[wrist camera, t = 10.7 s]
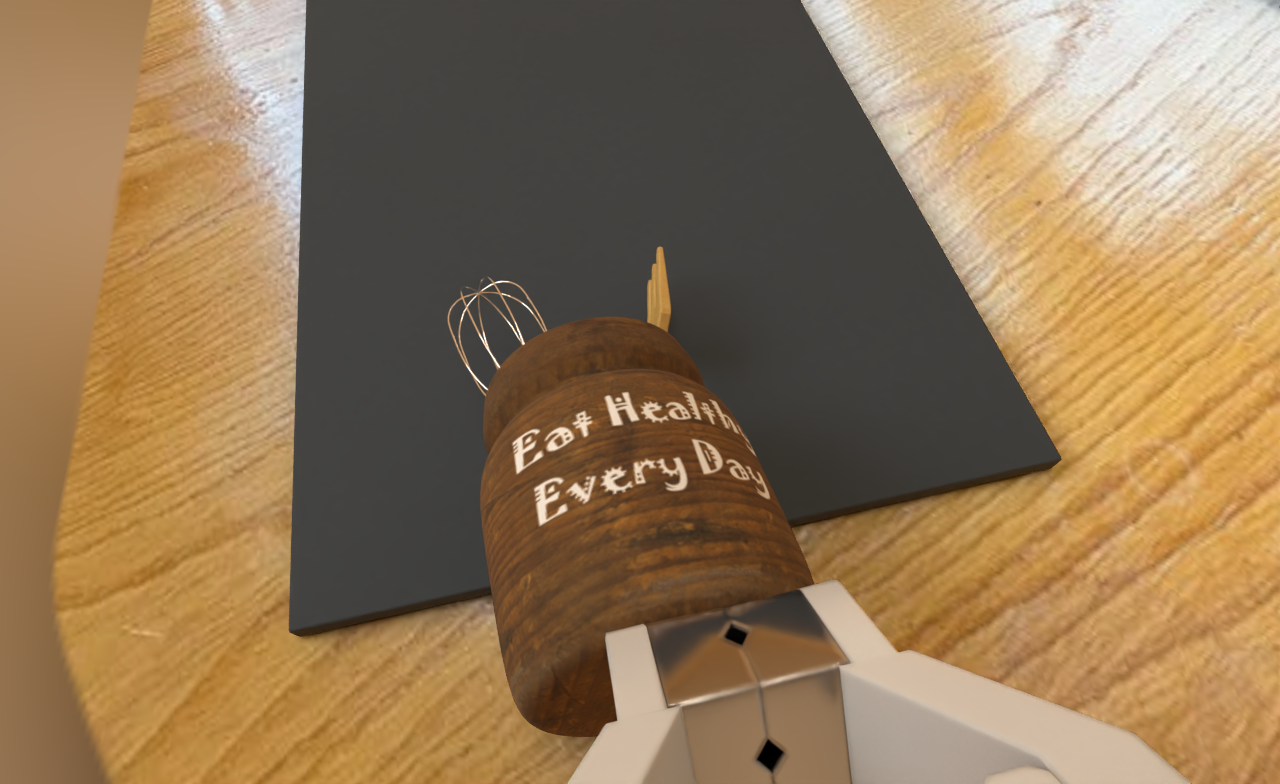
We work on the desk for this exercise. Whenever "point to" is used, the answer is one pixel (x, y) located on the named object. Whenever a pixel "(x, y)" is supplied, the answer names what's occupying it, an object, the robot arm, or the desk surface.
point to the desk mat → (607, 269)
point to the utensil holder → (613, 503)
